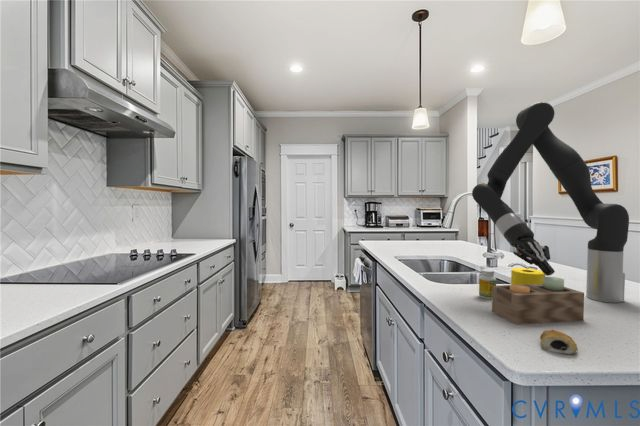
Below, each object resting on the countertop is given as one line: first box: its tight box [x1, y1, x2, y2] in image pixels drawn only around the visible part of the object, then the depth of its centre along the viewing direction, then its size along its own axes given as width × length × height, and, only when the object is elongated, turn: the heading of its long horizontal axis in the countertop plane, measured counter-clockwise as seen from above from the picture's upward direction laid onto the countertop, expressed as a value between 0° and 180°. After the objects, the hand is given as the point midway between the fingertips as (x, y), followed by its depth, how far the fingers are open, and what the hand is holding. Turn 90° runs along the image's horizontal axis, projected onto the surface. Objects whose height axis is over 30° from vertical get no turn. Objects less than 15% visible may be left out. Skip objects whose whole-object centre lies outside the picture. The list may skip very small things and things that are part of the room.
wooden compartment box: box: [491, 284, 585, 325], centre depth 92 cm, size 21×10×8 cm, turn 97°
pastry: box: [539, 329, 578, 355], centre depth 73 cm, size 9×7×4 cm
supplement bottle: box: [478, 268, 497, 300], centre depth 111 cm, size 5×5×10 cm
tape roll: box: [510, 267, 546, 285], centre depth 111 cm, size 10×10×9 cm
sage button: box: [543, 276, 565, 291], centre depth 93 cm, size 5×5×3 cm
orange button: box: [509, 284, 530, 293], centre depth 91 cm, size 5×5×3 cm
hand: (551, 274), depth 92 cm, fingers closed
